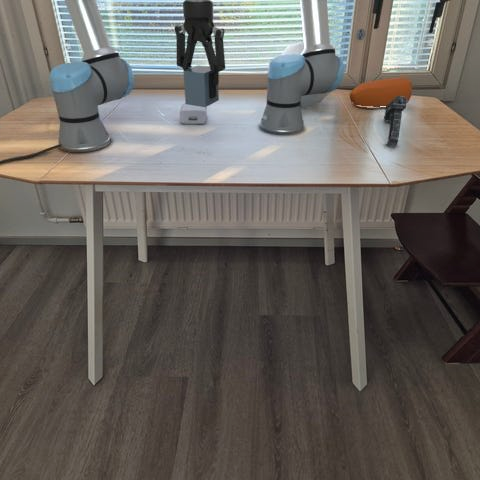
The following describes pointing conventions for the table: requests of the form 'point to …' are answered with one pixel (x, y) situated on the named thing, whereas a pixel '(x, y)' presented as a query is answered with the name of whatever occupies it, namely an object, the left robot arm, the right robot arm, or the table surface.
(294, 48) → the decorative sphere
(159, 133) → the table surface
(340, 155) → the table surface
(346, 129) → the table surface
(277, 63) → the right robot arm
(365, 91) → the clog
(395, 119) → the futuristic handgun
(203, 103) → the block
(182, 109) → the charger
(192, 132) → the table surface
